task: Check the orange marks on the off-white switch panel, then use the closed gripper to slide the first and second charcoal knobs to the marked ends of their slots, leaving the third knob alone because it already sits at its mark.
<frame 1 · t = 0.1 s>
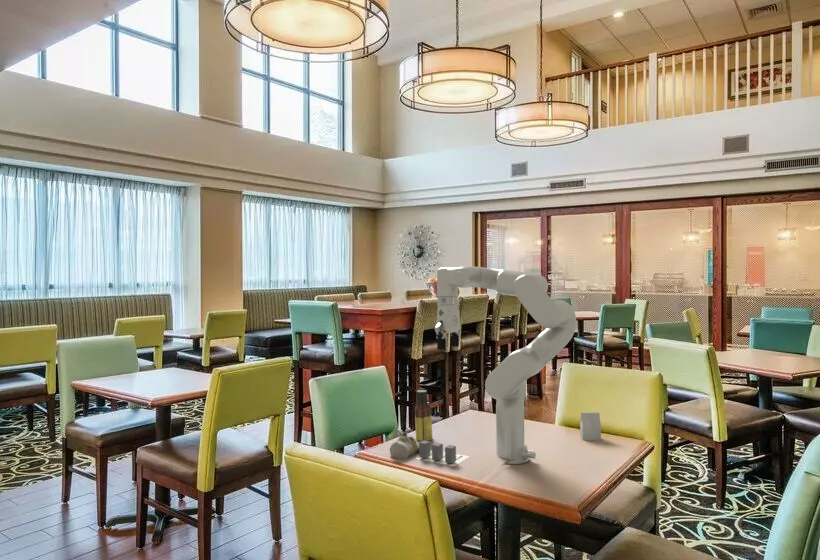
hand: (448, 347, 207), 37 cm above the table, fingers open, 9 cm apart
grey upright block: (590, 439, 216), on the table
slider 1: (450, 454, 187), point 4 cm above the table, slide at 0.0 cm
sauce bottle: (423, 443, 214), on the table
slider 2: (437, 451, 190), point 4 cm above the table, slide at 0.0 cm
switch panel: (442, 461, 192), on the table
slider 3: (424, 449, 192), point 4 cm above the table, slide at 0.0 cm
ceramic sculpture: (405, 457, 198), on the table
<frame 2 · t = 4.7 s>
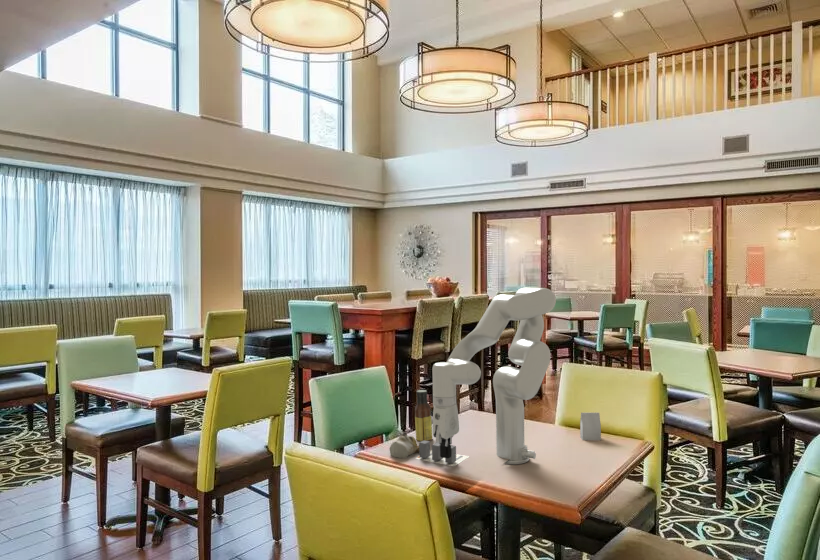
hand: (445, 457, 184), 4 cm above the table, fingers closed
slider 1: (450, 454, 187), point 4 cm above the table, slide at 0.1 cm, touching gripper
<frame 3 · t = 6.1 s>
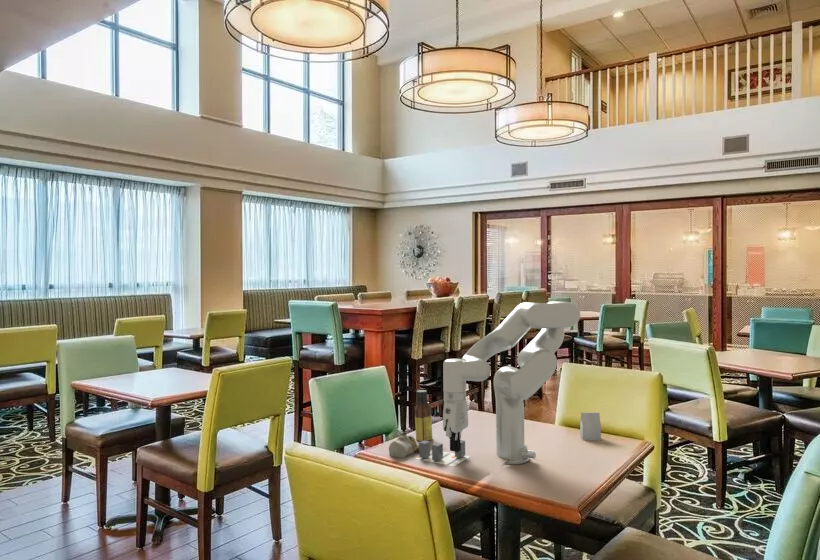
hand: (455, 450, 190), 5 cm above the table, fingers closed
slider 1: (460, 448, 192), point 4 cm above the table, slide at 6.7 cm, touching gripper
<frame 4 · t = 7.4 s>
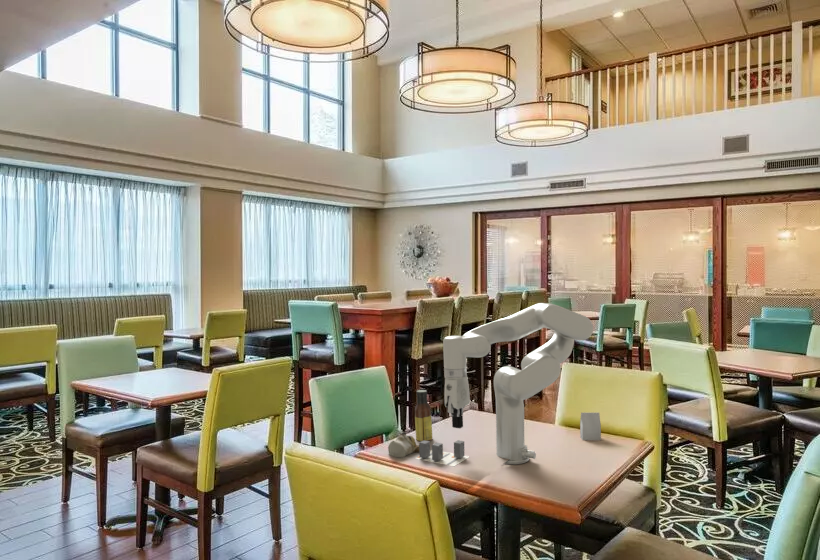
hand: (457, 427, 190), 12 cm above the table, fingers closed
slider 1: (459, 449, 192), point 4 cm above the table, slide at 6.0 cm
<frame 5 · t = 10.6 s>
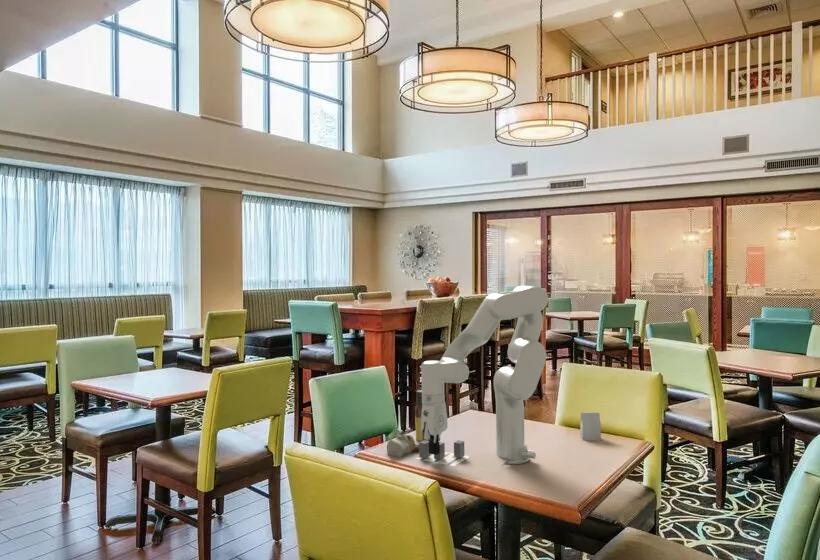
hand: (434, 453, 188), 4 cm above the table, fingers closed
slider 2: (439, 450, 191), point 4 cm above the table, slide at 1.3 cm, touching gripper
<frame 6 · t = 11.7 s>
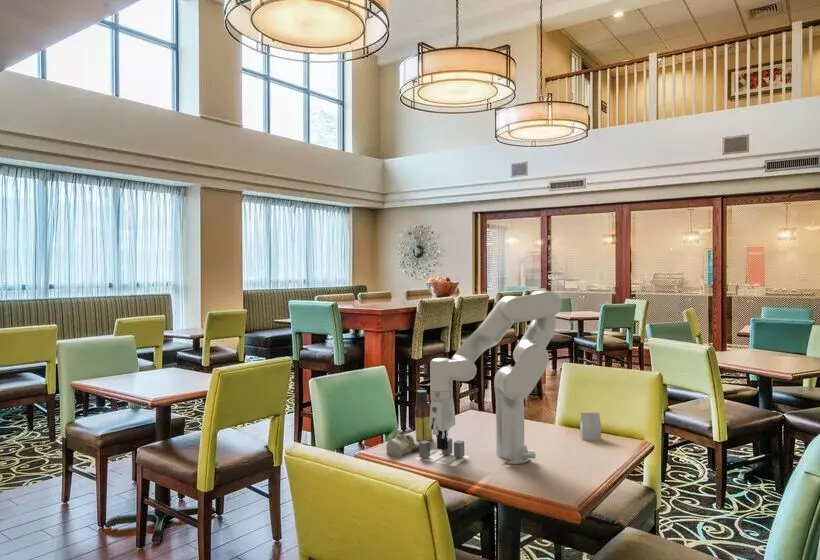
hand: (442, 448, 192), 5 cm above the table, fingers closed
slider 2: (447, 446, 195), point 4 cm above the table, slide at 6.6 cm, touching gripper
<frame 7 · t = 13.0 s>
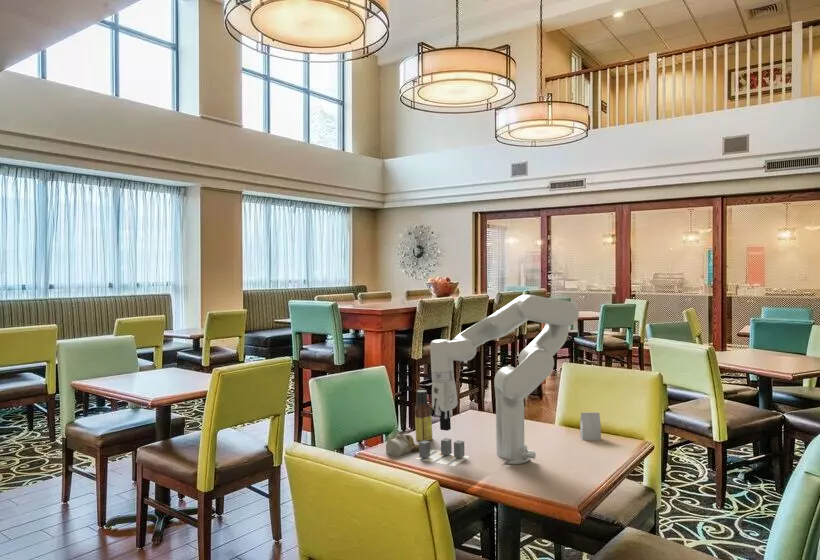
hand: (445, 429, 193), 11 cm above the table, fingers closed
slider 2: (446, 446, 195), point 4 cm above the table, slide at 6.0 cm
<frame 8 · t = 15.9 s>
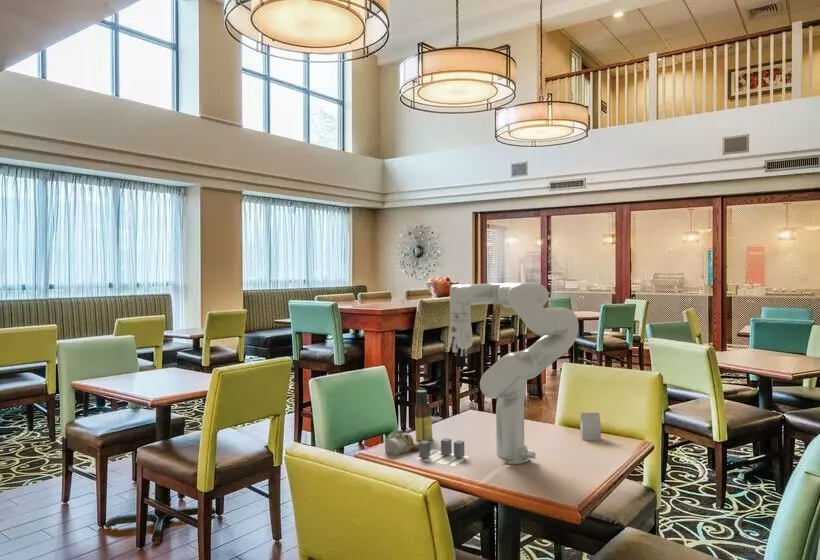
hand: (460, 366, 211), 29 cm above the table, fingers closed
at the end: slider 1 slide at 6.0 cm; slider 2 slide at 6.0 cm; slider 3 slide at 0.0 cm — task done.
